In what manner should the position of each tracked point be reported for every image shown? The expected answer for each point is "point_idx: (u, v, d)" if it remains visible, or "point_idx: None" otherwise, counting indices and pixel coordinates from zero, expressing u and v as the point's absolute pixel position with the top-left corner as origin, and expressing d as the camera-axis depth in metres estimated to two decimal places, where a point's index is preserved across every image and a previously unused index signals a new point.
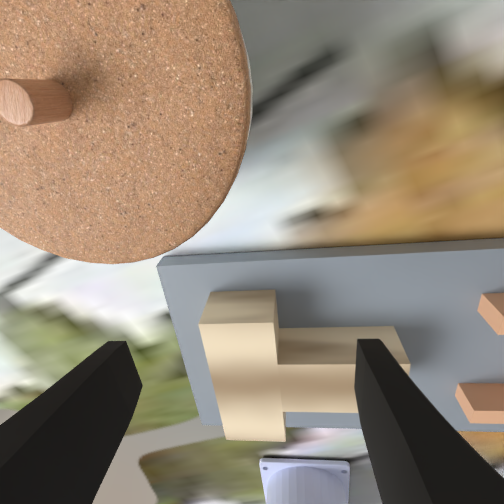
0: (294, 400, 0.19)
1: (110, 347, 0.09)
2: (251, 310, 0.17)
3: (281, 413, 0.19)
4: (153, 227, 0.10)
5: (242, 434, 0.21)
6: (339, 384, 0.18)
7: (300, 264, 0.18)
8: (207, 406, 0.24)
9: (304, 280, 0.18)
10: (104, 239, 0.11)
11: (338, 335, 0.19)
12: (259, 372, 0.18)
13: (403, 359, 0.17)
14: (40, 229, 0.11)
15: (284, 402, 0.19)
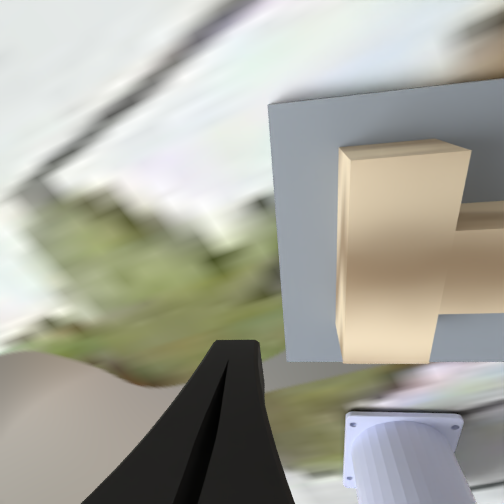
0: (463, 293, 0.13)
1: (223, 346, 0.09)
2: (421, 148, 0.12)
3: (436, 317, 0.14)
4: None
5: (369, 354, 0.15)
6: None
7: (483, 91, 0.12)
8: (299, 333, 0.19)
9: (482, 120, 0.13)
10: None
11: None
12: (423, 246, 0.12)
13: None
14: None
15: (446, 298, 0.13)
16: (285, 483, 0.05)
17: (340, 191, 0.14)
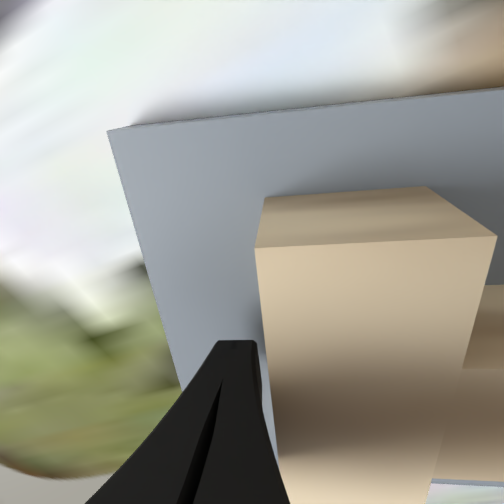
0: (473, 455, 0.08)
1: (225, 346, 0.09)
2: (396, 216, 0.06)
3: (427, 481, 0.08)
4: None
5: None
6: None
7: (470, 111, 0.07)
8: None
9: (469, 160, 0.07)
10: None
11: None
12: (403, 388, 0.07)
13: None
14: None
15: (444, 459, 0.08)
16: (281, 483, 0.05)
17: None
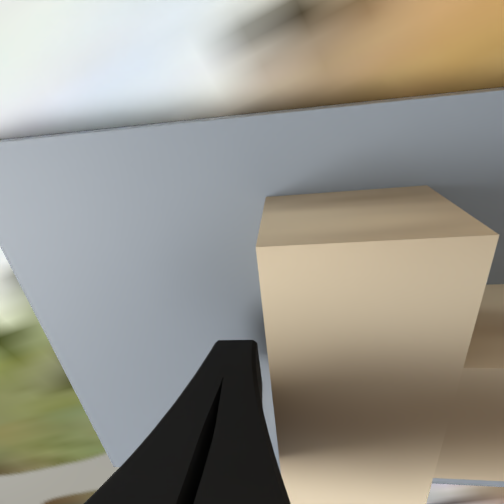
0: (475, 455, 0.08)
1: (225, 346, 0.09)
2: (398, 216, 0.06)
3: (428, 481, 0.08)
4: None
5: None
6: None
7: (262, 131, 0.08)
8: (116, 437, 0.14)
9: (273, 175, 0.08)
10: None
11: None
12: (404, 387, 0.07)
13: None
14: None
15: (445, 459, 0.08)
16: (281, 483, 0.05)
17: None
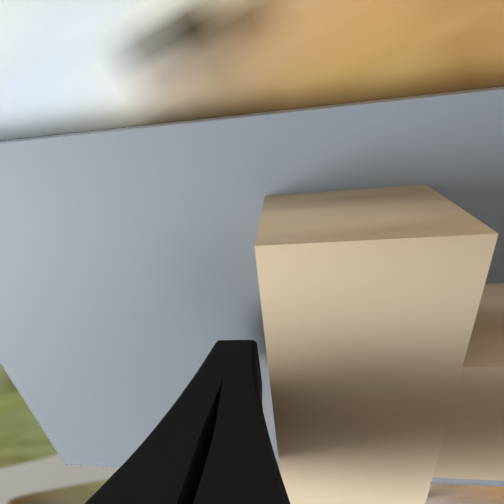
0: (474, 454, 0.08)
1: (225, 346, 0.09)
2: (397, 214, 0.06)
3: (428, 480, 0.08)
4: None
5: None
6: None
7: (158, 142, 0.08)
8: (64, 436, 0.14)
9: (174, 183, 0.08)
10: None
11: None
12: (403, 386, 0.07)
13: None
14: None
15: (445, 458, 0.08)
16: (281, 483, 0.05)
17: None
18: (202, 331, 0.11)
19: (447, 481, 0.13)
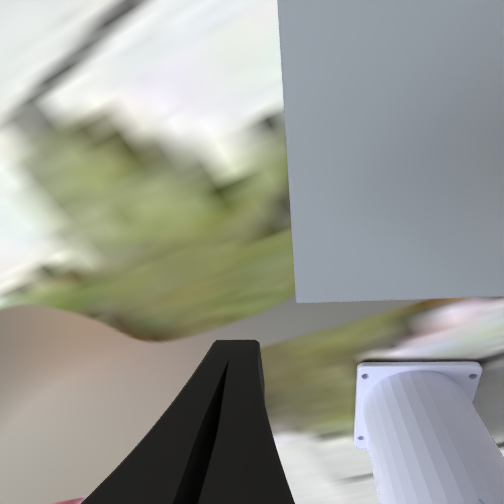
0: None
1: (223, 346, 0.09)
2: None
3: None
4: None
5: None
6: None
7: None
8: (309, 269, 0.18)
9: None
10: None
11: None
12: None
13: None
14: None
15: None
16: (285, 483, 0.05)
17: None
18: (479, 144, 0.14)
19: None
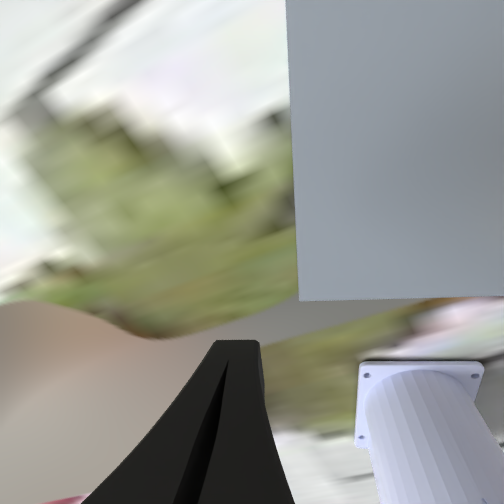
0: None
1: (223, 346, 0.09)
2: None
3: None
4: None
5: None
6: None
7: None
8: (313, 267, 0.18)
9: None
10: None
11: None
12: None
13: None
14: None
15: None
16: (285, 483, 0.05)
17: None
18: (486, 142, 0.14)
19: None
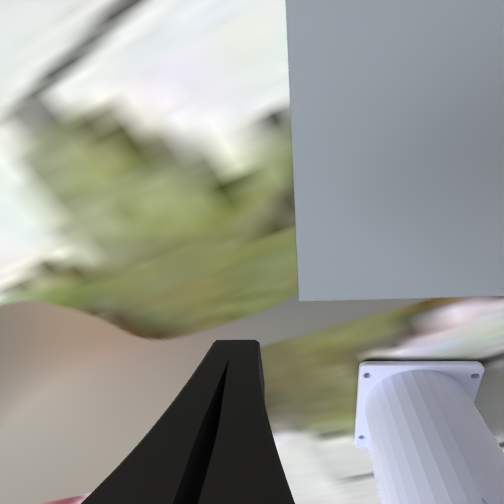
0: None
1: (223, 346, 0.09)
2: None
3: None
4: None
5: None
6: None
7: None
8: (313, 267, 0.18)
9: None
10: None
11: None
12: None
13: None
14: None
15: None
16: (285, 483, 0.05)
17: None
18: (486, 142, 0.14)
19: None
